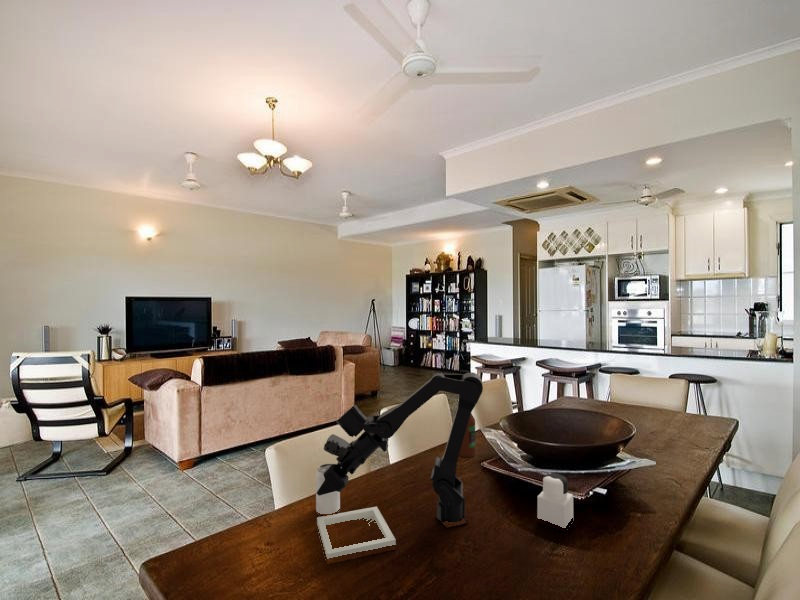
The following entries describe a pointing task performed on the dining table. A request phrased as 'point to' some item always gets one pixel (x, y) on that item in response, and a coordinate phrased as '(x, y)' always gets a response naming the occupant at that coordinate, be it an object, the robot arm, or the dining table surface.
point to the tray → (365, 546)
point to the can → (326, 501)
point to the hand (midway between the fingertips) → (323, 486)
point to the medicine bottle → (555, 501)
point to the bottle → (469, 439)
